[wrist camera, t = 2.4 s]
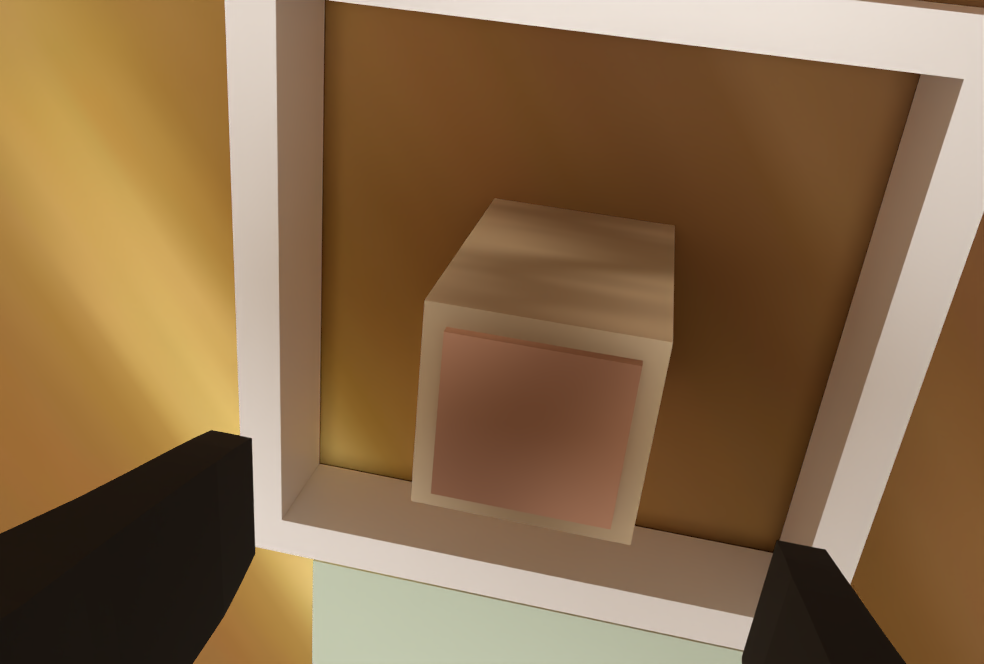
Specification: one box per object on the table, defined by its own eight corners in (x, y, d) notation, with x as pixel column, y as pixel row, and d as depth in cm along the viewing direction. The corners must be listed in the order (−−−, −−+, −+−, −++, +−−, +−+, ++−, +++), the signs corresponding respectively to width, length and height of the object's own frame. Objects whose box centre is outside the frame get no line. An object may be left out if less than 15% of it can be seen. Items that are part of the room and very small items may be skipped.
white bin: (998, 9, 16) (1051, 22, 14) (806, 592, 22) (821, 666, 20) (278, -73, 18) (221, -73, 16) (284, 487, 24) (244, 544, 22)
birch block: (675, 225, 19) (672, 348, 13) (643, 385, 21) (630, 552, 15) (494, 197, 19) (421, 305, 14) (478, 356, 21) (407, 507, 16)
